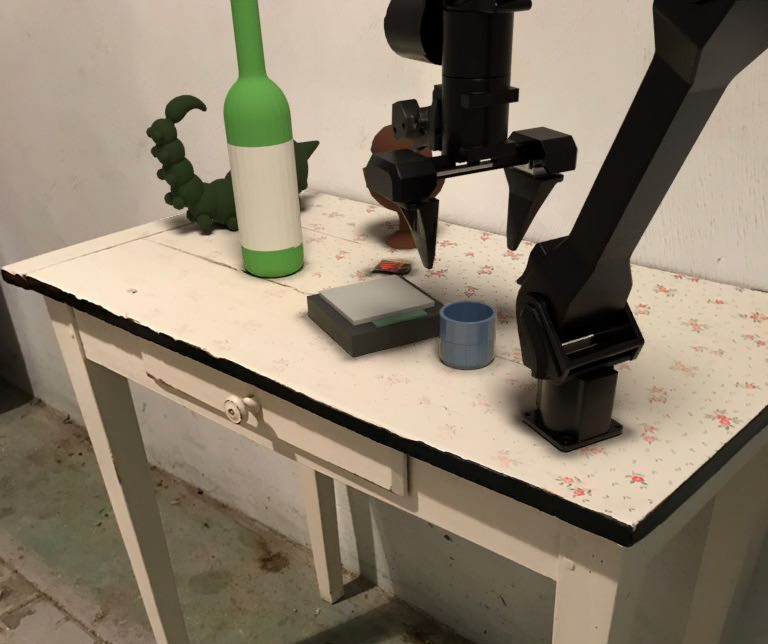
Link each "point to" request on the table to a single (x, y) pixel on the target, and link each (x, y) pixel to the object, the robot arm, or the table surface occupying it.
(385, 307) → the kitchen scale
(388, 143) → the ice cream bowl
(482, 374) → the table surface
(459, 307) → the small cup
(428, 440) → the table surface
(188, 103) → the toy figurine
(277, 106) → the wine bottle
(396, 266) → the red black picture tile
